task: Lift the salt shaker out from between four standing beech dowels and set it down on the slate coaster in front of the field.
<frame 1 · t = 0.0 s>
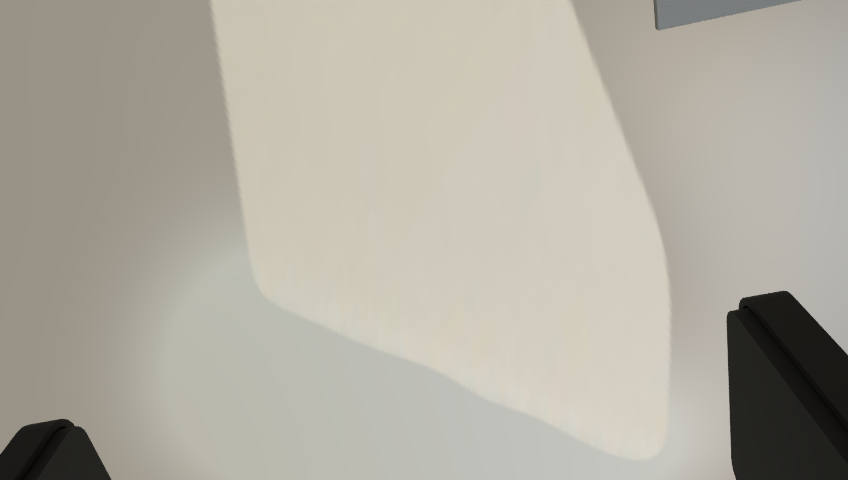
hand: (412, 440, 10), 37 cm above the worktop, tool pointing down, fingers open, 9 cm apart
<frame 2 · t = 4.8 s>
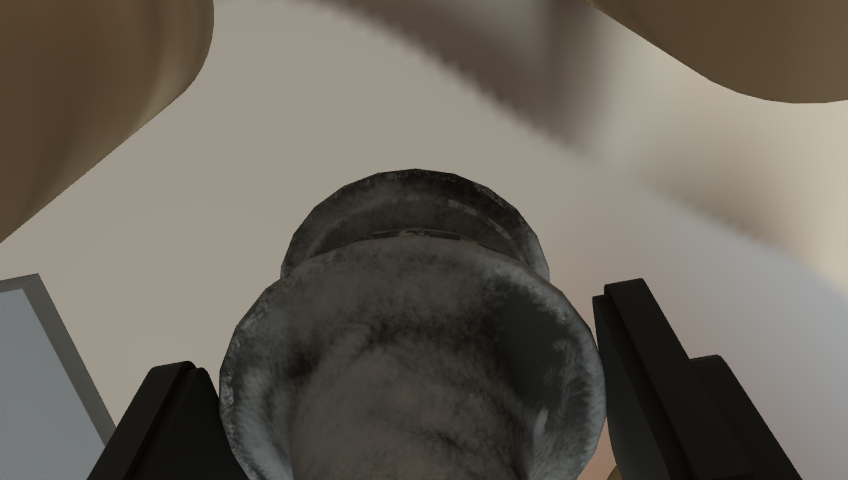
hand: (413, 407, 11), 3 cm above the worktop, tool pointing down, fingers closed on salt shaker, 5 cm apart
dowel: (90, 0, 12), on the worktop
salt shaker: (415, 290, 14), on the worktop, touching gripper
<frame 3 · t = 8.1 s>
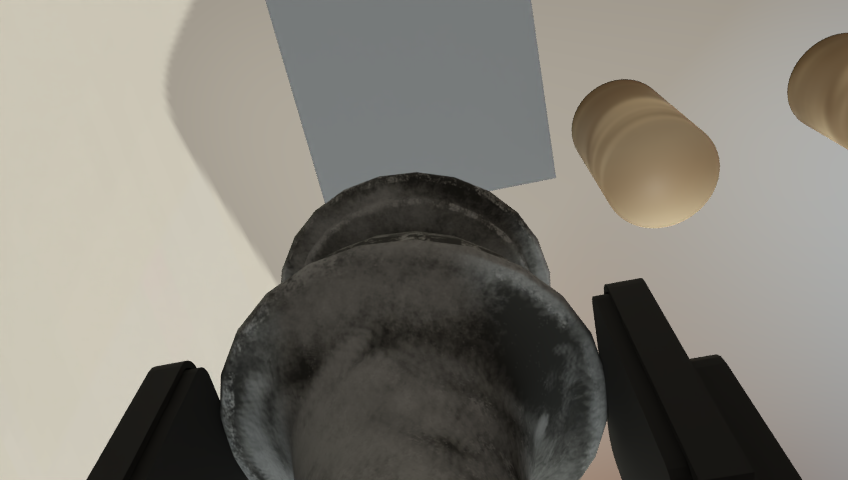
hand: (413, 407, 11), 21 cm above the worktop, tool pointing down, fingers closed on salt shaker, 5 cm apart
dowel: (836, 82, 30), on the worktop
salt shaker: (415, 293, 14), point 17 cm above the worktop, touching gripper
coaster: (417, 85, 30), on the worktop
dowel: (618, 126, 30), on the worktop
when the fingers open (5 cm above the worktop, at t = 11.6 s): salt shaker stays where it is, resting on coaster.
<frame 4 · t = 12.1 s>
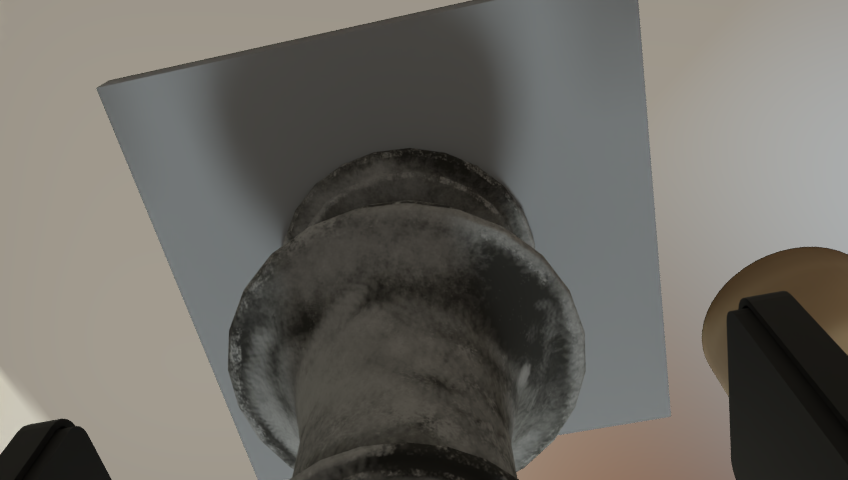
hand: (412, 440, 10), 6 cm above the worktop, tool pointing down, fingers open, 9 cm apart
salt shaker: (409, 264, 15), resting on coaster
coaster: (415, 257, 16), on the worktop
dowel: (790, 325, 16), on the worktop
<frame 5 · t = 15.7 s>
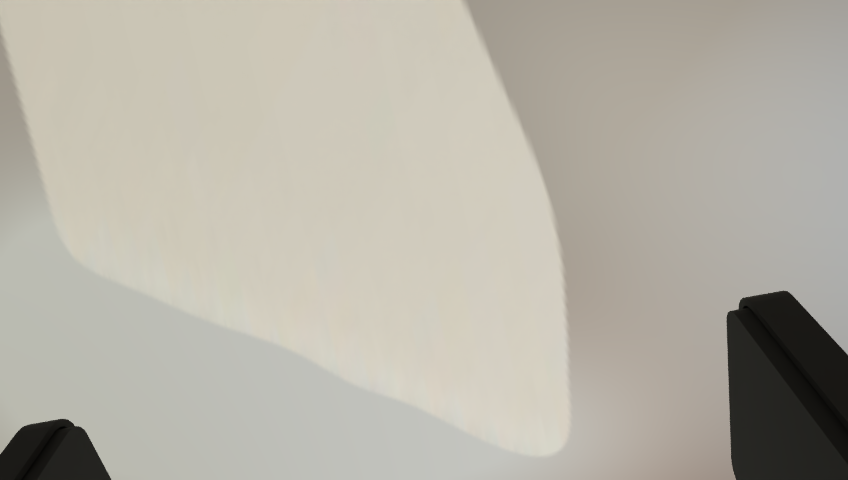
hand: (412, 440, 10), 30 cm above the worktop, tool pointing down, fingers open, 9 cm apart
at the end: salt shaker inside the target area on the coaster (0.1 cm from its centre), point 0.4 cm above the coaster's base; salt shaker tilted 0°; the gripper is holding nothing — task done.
